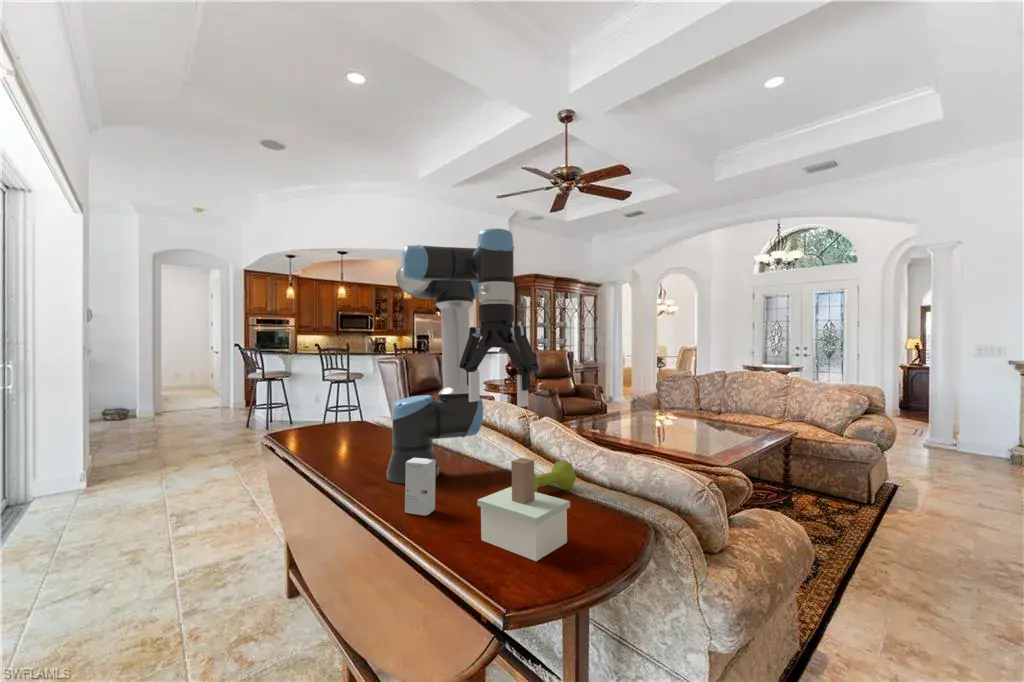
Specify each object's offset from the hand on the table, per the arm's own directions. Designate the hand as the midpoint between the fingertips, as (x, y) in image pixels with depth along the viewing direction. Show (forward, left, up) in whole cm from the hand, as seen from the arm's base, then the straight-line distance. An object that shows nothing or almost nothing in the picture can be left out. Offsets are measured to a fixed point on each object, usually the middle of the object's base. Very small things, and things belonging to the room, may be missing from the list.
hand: (497, 403), depth 99 cm
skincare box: (-21, -4, -27) cm, 35 cm away
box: (+8, -1, -27) cm, 28 cm away
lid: (+8, -1, -21) cm, 22 cm away
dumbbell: (-6, +25, -27) cm, 37 cm away
